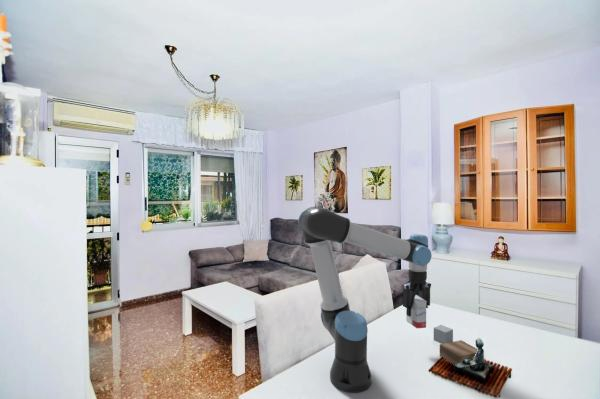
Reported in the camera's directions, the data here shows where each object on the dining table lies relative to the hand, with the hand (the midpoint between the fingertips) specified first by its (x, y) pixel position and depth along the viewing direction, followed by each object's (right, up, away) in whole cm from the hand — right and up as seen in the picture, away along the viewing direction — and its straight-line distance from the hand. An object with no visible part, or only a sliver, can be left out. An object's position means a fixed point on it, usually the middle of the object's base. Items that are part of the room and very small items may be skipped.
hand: (415, 322), depth 132 cm
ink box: (0, -1, 0) cm, 1 cm away
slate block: (+16, -13, +9) cm, 23 cm away
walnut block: (+16, -13, -7) cm, 22 cm away
